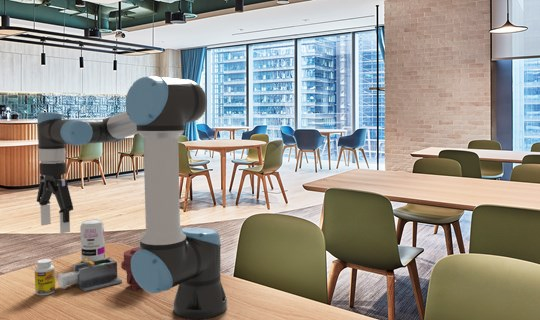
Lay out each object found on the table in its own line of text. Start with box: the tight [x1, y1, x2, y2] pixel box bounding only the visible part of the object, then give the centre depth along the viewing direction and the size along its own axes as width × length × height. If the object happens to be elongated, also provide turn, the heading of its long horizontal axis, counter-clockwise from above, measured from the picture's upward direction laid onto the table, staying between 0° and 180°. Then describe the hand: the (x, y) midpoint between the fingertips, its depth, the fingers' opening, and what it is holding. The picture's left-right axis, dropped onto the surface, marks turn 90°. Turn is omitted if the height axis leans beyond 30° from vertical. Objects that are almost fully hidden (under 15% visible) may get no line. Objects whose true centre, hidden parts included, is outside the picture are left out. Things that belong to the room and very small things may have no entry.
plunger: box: [57, 258, 95, 290], centre depth 147 cm, size 7×11×6 cm, turn 130°
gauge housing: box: [73, 257, 123, 293], centre depth 151 cm, size 14×12×6 cm
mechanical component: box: [120, 246, 141, 291], centre depth 146 cm, size 12×10×10 cm
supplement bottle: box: [34, 258, 56, 296], centre depth 141 cm, size 6×6×10 cm
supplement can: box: [79, 219, 106, 263], centre depth 171 cm, size 8×8×15 cm
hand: (55, 228), depth 144 cm, fingers open, 13 cm apart
